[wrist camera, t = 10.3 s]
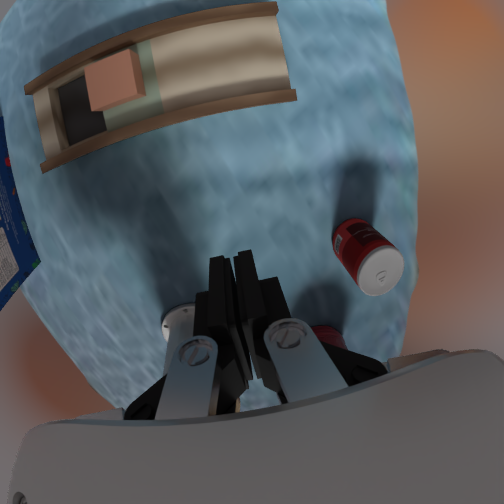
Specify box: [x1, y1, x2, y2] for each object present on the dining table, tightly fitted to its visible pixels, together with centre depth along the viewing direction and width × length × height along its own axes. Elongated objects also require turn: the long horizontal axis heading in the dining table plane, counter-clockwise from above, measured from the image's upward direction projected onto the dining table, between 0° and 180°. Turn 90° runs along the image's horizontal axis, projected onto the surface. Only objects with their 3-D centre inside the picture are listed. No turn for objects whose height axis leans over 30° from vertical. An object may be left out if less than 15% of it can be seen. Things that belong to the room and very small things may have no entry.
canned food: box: [332, 218, 404, 296], centre depth 40 cm, size 8×8×11 cm
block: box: [84, 49, 146, 111], centre depth 25 cm, size 6×6×4 cm
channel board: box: [24, 2, 297, 174], centre depth 28 cm, size 14×35×5 cm, turn 100°
